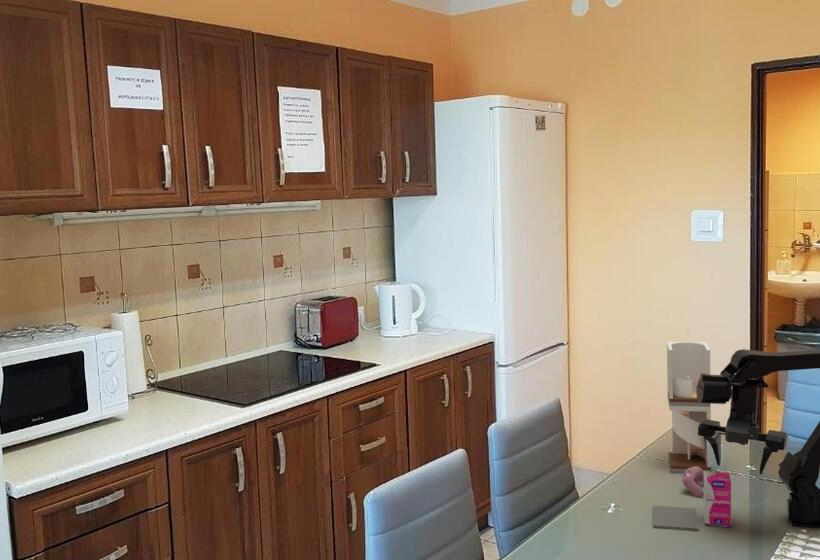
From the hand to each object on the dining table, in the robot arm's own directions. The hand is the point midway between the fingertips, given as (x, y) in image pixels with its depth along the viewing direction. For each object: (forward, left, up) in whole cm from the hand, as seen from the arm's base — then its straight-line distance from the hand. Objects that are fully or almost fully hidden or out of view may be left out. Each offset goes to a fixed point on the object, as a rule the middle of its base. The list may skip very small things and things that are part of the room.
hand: (739, 469), depth 181 cm
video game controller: (+8, -19, -13) cm, 25 cm away
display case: (+10, -37, -13) cm, 40 cm away
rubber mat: (+15, +1, -13) cm, 19 cm away
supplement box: (+5, +1, -13) cm, 14 cm away
